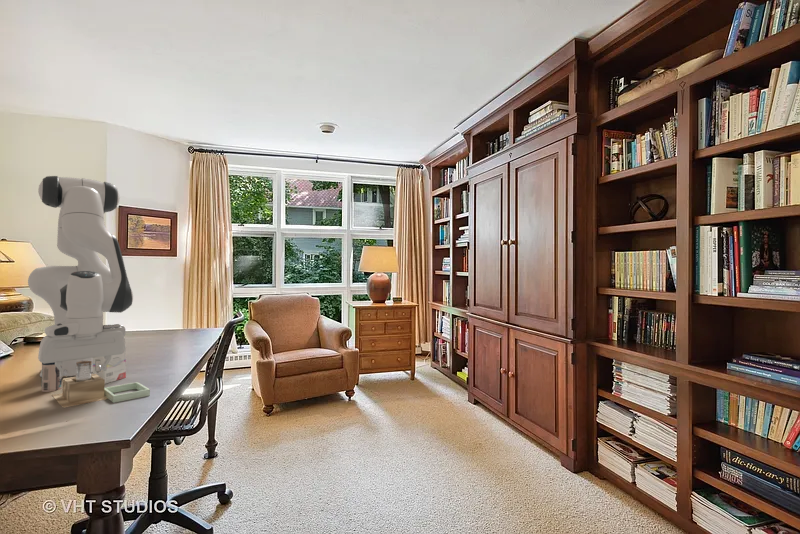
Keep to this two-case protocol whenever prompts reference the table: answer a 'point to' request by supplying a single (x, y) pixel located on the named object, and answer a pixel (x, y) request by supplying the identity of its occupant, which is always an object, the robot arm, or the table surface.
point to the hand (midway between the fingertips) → (83, 373)
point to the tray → (126, 396)
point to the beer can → (50, 377)
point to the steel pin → (83, 371)
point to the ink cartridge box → (111, 367)
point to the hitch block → (81, 391)
